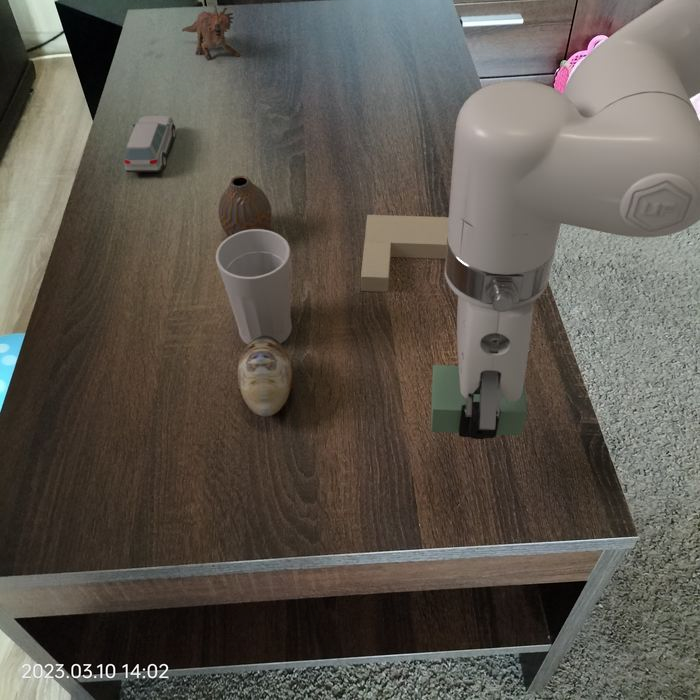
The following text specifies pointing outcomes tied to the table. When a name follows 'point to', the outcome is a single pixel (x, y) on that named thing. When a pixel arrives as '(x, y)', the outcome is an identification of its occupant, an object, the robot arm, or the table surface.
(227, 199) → the vase
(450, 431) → the green block
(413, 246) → the beige c-shaped block
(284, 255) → the cup
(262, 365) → the seashell
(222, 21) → the dinosaur figurine
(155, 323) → the table surface
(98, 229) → the table surface
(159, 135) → the toy car
